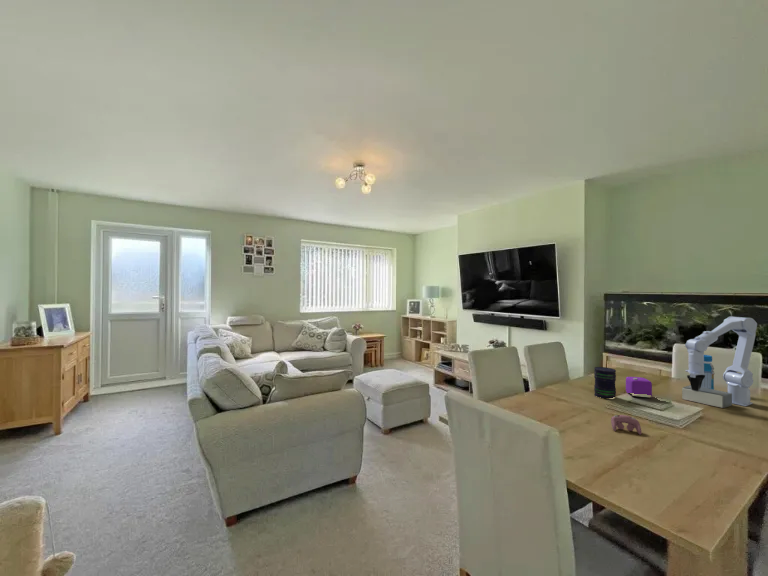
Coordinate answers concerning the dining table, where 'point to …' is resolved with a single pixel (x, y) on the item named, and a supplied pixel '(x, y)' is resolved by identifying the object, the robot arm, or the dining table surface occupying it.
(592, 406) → the dining table surface
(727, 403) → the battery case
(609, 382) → the storage jar
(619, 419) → the video game controller
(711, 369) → the beverage bottle
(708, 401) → the door
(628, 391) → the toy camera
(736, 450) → the dining table surface
